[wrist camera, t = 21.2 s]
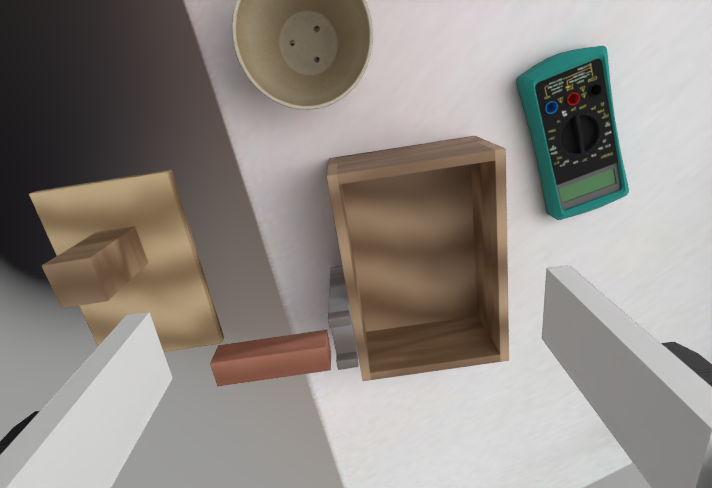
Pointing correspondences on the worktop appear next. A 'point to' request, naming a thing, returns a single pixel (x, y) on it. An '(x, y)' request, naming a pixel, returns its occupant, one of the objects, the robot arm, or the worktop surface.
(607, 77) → the digital multimeter
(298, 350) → the reddish brown rectangular block
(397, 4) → the worktop surface
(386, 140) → the worktop surface
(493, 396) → the worktop surface
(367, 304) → the brown wooden box
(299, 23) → the flower pot
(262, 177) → the worktop surface
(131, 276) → the wooden block with peg
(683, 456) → the robot arm
